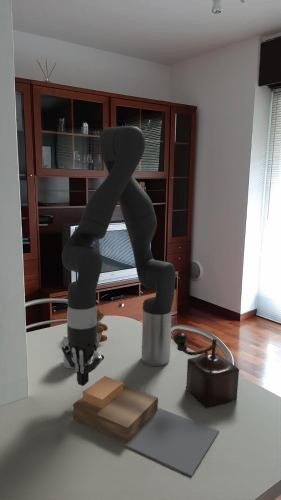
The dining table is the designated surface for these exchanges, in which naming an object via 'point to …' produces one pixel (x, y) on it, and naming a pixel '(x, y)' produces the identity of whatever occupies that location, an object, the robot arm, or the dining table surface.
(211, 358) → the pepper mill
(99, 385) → the orange tan block
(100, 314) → the brown teddy bear
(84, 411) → the brown box
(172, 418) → the mat
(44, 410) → the dining table surface
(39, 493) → the dining table surface
